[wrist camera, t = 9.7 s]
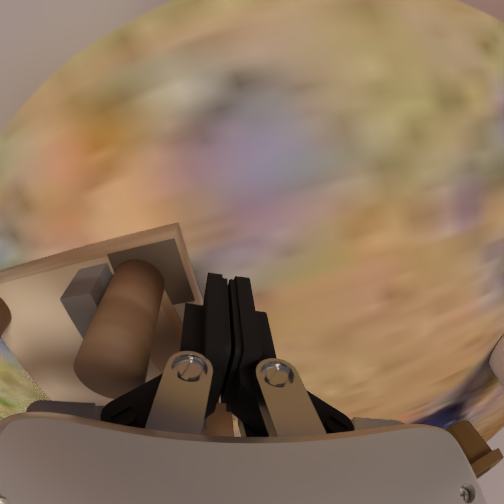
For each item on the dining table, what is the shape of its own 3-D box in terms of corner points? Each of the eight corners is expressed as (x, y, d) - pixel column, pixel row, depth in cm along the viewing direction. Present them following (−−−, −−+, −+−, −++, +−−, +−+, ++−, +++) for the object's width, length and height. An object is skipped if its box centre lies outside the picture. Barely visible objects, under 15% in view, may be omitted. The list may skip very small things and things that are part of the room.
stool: (239, 396, 21) (249, 487, 14) (81, 408, 21) (64, 481, 14) (179, 220, 14) (152, 327, 8) (-13, 273, 14) (-73, 347, 7)
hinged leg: (216, 373, 16) (220, 459, 11) (177, 381, 16) (173, 464, 11) (150, 252, 12) (118, 345, 8) (105, 268, 12) (59, 357, 8)
